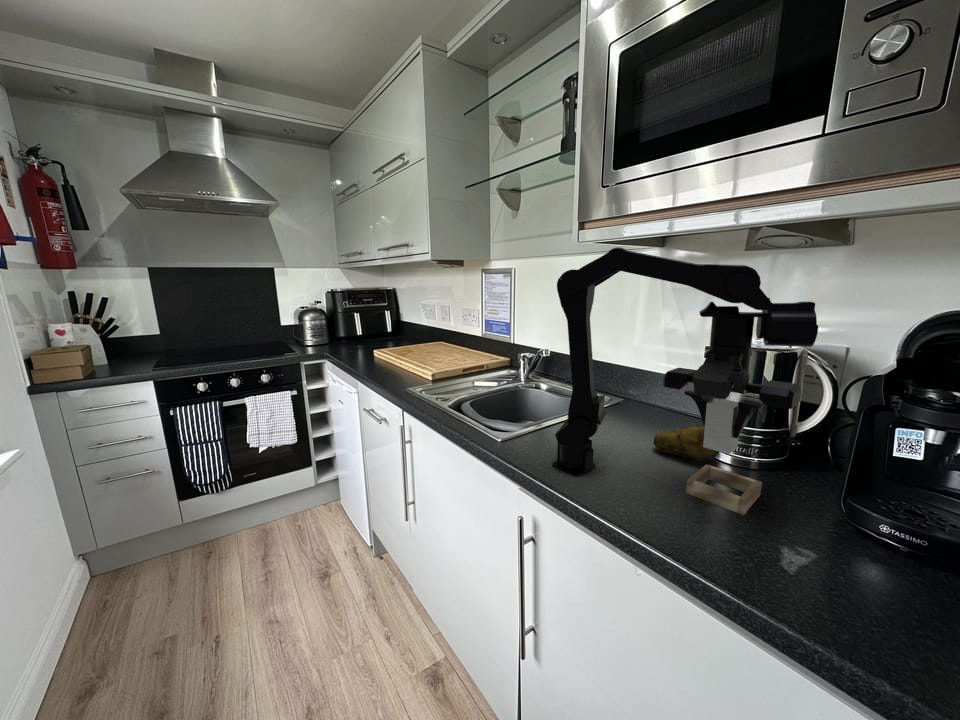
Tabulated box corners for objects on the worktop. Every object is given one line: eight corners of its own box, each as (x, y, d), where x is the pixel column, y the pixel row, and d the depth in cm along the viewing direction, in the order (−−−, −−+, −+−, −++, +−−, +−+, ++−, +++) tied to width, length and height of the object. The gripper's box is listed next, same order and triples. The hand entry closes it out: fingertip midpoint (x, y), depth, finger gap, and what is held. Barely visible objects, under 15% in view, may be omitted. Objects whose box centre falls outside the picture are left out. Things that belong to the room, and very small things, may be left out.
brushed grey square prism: (703, 447, 67) (706, 402, 65) (712, 440, 69) (715, 397, 68) (729, 454, 64) (733, 408, 62) (737, 447, 66) (742, 402, 64)
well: (685, 493, 69) (687, 480, 69) (705, 476, 75) (706, 464, 74) (744, 515, 62) (745, 501, 62) (760, 494, 68) (762, 482, 68)
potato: (673, 443, 90) (676, 410, 88) (728, 466, 79) (733, 429, 77) (648, 450, 86) (650, 416, 85) (702, 475, 75) (706, 437, 73)
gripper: (650, 344, 65) (645, 432, 68) (788, 358, 51) (774, 468, 54) (679, 337, 72) (674, 416, 75) (808, 347, 58) (795, 445, 61)
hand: (721, 434), depth 66 cm, fingers closed on brushed grey square prism, 4 cm apart
